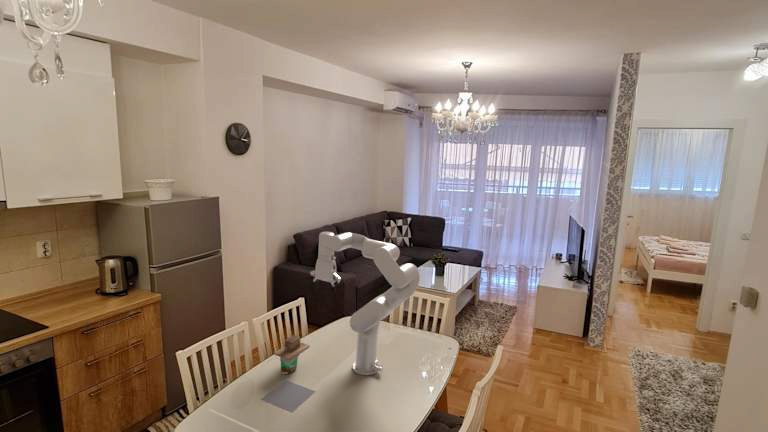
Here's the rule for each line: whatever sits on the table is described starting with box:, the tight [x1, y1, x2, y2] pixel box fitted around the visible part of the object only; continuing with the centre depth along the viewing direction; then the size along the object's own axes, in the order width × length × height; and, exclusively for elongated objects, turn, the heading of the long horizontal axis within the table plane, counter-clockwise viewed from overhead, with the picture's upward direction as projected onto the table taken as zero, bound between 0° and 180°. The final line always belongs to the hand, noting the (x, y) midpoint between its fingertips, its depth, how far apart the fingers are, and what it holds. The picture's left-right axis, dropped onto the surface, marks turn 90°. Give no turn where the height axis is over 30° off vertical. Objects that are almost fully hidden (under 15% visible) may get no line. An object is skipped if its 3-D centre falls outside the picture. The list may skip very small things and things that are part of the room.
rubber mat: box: [260, 379, 317, 413], centre depth 169 cm, size 16×16×1 cm
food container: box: [279, 354, 300, 375], centre depth 187 cm, size 12×6×10 cm, turn 168°
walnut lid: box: [273, 334, 311, 360], centre depth 186 cm, size 9×14×6 cm, turn 154°
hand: (324, 291), depth 199 cm, fingers open, 9 cm apart
